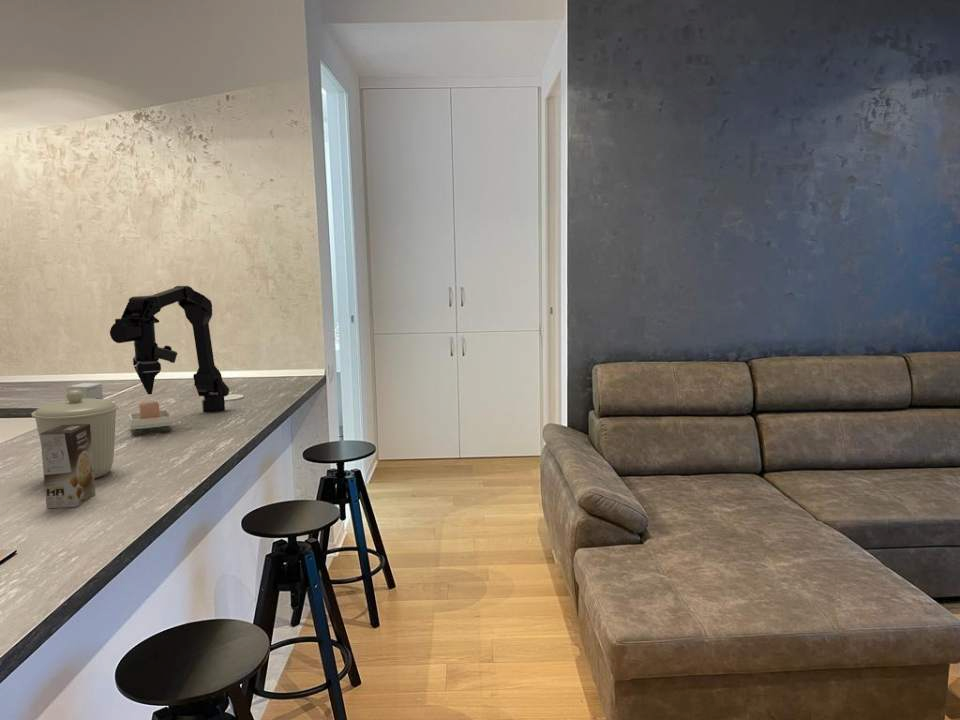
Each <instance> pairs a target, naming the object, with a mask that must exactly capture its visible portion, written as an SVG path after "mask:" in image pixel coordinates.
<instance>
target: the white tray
mask: <svg viewBox="0 0 960 720" xmlns="http://www.w3.org/2000/svg"><path fill="white" fill-rule="evenodd" d="M159 411H160V417H158V418H148V419H140V412H135V413H134V412H133V413H128V423H129V427H130V431H131V430H133V434H134V435H137V436H138V437H139V435H140V436H142V435H143V434H142V433H143V429H147V428H148V429H149V428H150V429H151V428H157V427H159V428H160V427H161V430H162V431H163V432H165V433H170V431H171V426H174V425H173V423H174V422H173V416H172V414H171V412H170V411H169V410H168V409H164V410H159ZM137 436H136V437H137Z"/></svg>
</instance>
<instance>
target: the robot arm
mask: <svg viewBox="0 0 960 720" xmlns="http://www.w3.org/2000/svg"><path fill="white" fill-rule="evenodd" d="M175 303H177V304H178V306H179V307H180V308H181V309H183V310H184V313H185V318H186V319H187V321H188V322H189V323H190V325H191V326H192V331H193V332H192V333H193V338H194V344H195V352H196V358H197V359H196V360H197V364H198V369H197V370H196V373H193V377H192V378H193V380H194V387H195V389H196V391H197V395H198V397H203V399H202V400H201V406H202V407H201V408H202V410H201V411H202V413H217V412H218V413H219V412H222V411H226V405H225V404H226V403H225V397H227V396H229V393H230V388H229V387H228V385H227V384H226V383H225V382H224V380H223V376H222V373H221V372H220V370H219V369H218V367H217V366H216V365H215V359H214V352H213V346H212V337H211V332H210V324H209V323H210V321H211V318H212V317H213V304H212V301H211V300H210V298H208V297H206V296H205V295H204V294H203V293H200V292H198V291H196V290H194V289H193V288H192V287H191V286H189V285H176V286H174V287H173V288H169V289H167V290H163V291H161V292H158V293H154V294H152V295H137V296H136V295H135V296H131V297H130V298H128V302H127V304H126V306H125V308H124V310H123V313H122V315H121V316H120V318H115V319H114V322H115V323H114V324H112V326H111V327H110V330H109V335H110V338H111V340H112V341H113V342H115V343H116V344H124V343H129V342H133V347H134V357H133V358H132V365H133V368H134V370H135V372H136V374H137V376H138V378H139V380H140V383H141V384H142V387H144V390H145V391H146V393H147V395H152V394H153V392H154V391H153V390H154V384H155V378H156V376H157V375H159V374H160V372H161V371H162V364H161V362H160V361H159V360H163V361H166V362H167V361H168V362H170V363H172V364H175V362H176V359H177V356H178V352H177V351H175V350H172V346H170V345H164V346H163V347H160V346H158V343H157V342H156V341H157V340H156V332H155V331H156V329H155V324H158V323H160V319H158V318H157V317H155V315H157V314H158V313H159V312H161V309H163V308H164V307H167V306H170V305H172V304H175Z"/></svg>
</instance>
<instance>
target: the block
mask: <svg viewBox="0 0 960 720" xmlns="http://www.w3.org/2000/svg"><path fill="white" fill-rule="evenodd" d="M138 407H139V413H140V419H148V418H158V417H160V411H161V410H160V404H159V402H158V401H149V402H139V403H138Z"/></svg>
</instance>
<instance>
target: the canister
mask: <svg viewBox="0 0 960 720" xmlns="http://www.w3.org/2000/svg"><path fill="white" fill-rule="evenodd" d="M65 395H66V396H65V397H66V399H67V400H60V401H54V402H50V403H46V404H44V405H42V406H39V407H38V408H37V409H36V410H34V411H32V412H31V417H32V418H35V423H36V428H37V432H38V437H39V440H40V443H41V436H40V433H43V432H46V431H48V430H50V429H53V428H55V427H58V426H60V425H70V424H90V430H91V442H92V455H93V468H94V480H95V479H97V478H101V477H103V476H105V475H106V474H108V473H109V472H110V471H111V469H112V468H113V464H114V455H115V444H116V443H115V439H116V417H117V416H116V414H117V412H116V411H117V410H118V409H119V405H118V404H117V403H113V401H111V400H108V399H105V398H103V399H83V393H82V392H81V391H80V390H71V391H69V392H68V393H67V392H66V394H65Z"/></svg>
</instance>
